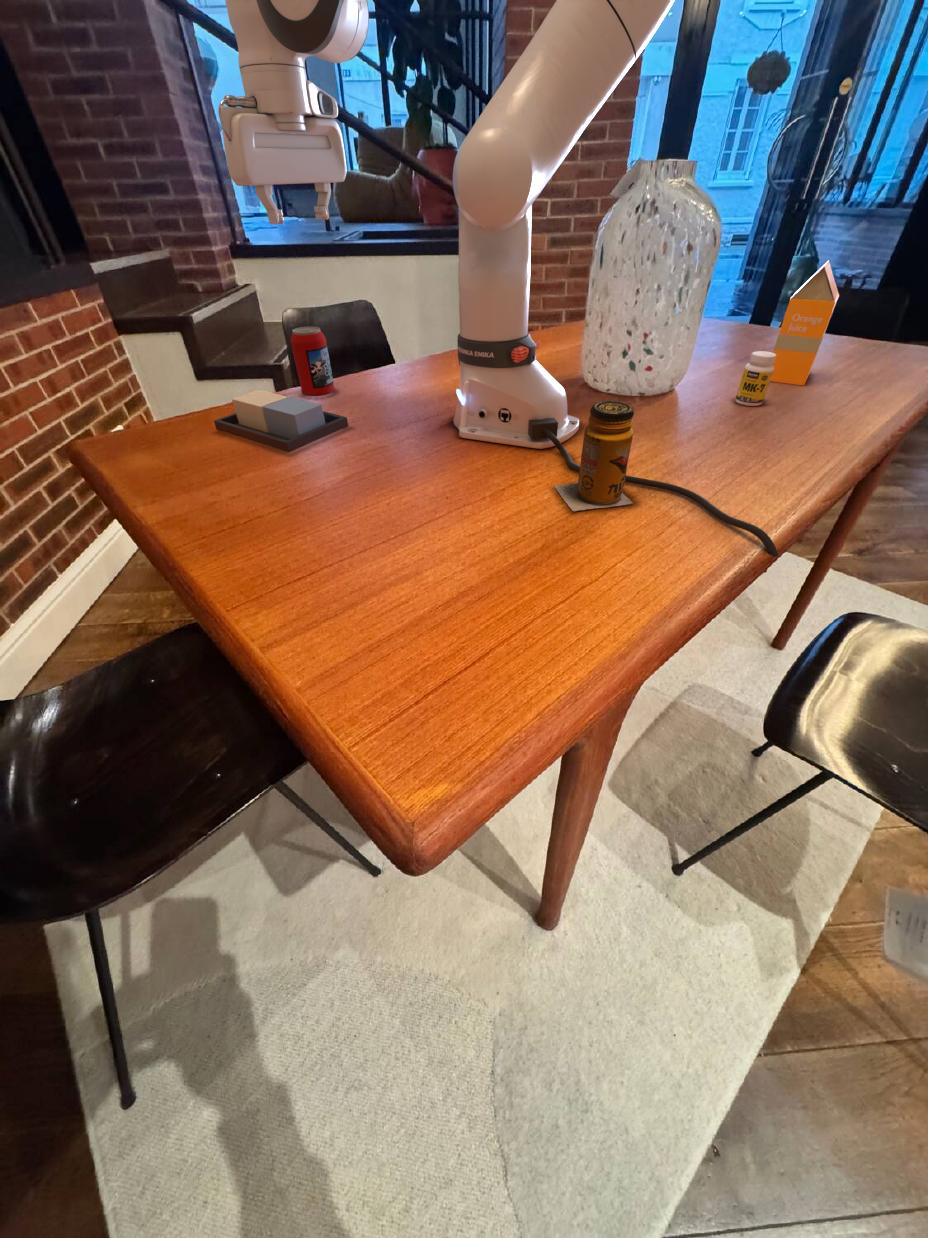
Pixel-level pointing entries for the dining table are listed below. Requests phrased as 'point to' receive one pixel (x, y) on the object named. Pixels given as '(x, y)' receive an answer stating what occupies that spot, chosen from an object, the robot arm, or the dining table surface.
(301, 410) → the blue gray block
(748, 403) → the supplement bottle
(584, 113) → the robot arm
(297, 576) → the dining table surface
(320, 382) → the beverage can
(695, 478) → the dining table surface
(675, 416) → the dining table surface
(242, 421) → the beige block
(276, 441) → the tray
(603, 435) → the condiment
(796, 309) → the orange juice
